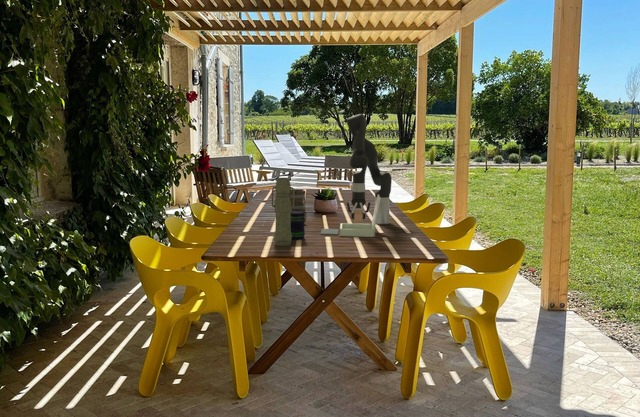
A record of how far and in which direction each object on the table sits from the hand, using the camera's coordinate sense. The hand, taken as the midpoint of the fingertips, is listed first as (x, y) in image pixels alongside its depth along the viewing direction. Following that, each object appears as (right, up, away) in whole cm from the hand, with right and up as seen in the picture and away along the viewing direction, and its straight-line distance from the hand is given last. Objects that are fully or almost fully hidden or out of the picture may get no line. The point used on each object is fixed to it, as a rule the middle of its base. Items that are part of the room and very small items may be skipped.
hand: (358, 219), depth 337 cm
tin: (-38, -4, +28) cm, 47 cm away
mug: (-40, +5, +90) cm, 98 cm away
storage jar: (-36, -10, -18) cm, 41 cm away
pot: (0, -2, 0) cm, 2 cm away
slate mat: (-16, -8, +2) cm, 18 cm away
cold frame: (+1, -8, +1) cm, 8 cm away
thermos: (-42, -13, -34) cm, 55 cm away
